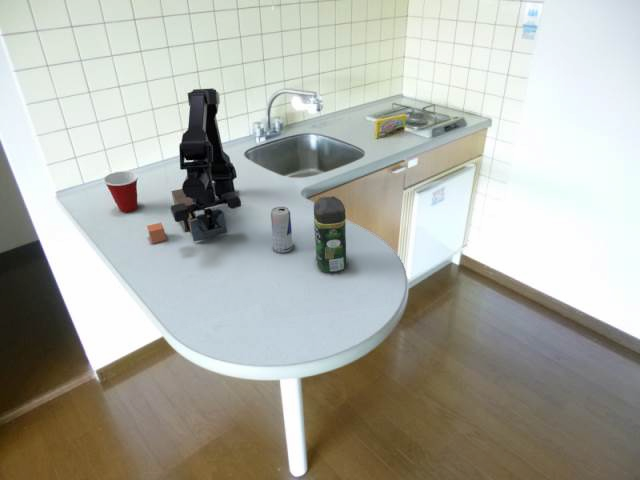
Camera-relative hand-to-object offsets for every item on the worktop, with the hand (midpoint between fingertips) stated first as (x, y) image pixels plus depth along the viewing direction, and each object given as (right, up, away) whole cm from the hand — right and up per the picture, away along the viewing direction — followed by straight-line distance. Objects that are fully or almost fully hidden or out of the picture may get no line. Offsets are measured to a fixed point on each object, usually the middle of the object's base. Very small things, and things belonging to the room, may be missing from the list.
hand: (211, 232), depth 135 cm
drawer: (-3, 0, +6) cm, 7 cm away
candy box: (+64, +46, +78) cm, 111 cm away
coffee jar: (+35, -9, -10) cm, 37 cm away
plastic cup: (-33, +8, +24) cm, 42 cm away
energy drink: (+21, -5, -2) cm, 22 cm away
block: (-17, -2, +5) cm, 18 cm away
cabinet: (-8, +5, +16) cm, 18 cm away
